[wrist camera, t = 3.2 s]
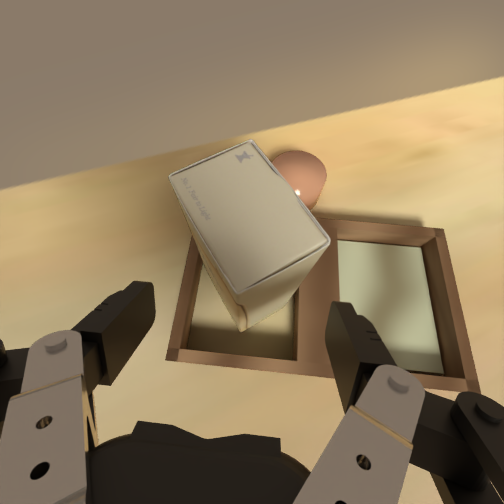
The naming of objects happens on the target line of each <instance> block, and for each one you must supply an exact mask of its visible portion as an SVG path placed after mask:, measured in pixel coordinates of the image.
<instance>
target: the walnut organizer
mask: <svg viewBox="0 0 504 504" xmlns="http://www.w3.org/2000/svg"><path fill="white" fill-rule="evenodd" d="M315 219H316V220H317V221H318V223H319V224H320V225H321V227H322V228H323V229H324V231H325V232H326V233H327V234H328V236H329V237H330V239H331V241H330V245H329V246H328V247H327V249H326V250H325V251H324V253H323V254H322V255H321V257H320V258H319V259H318V261H317V262H316V263H315V265H314V266H313V268H312V269H311V270H310V272H309V273H308V275H307V276H306V277H305V279H304V280H303V281H302V283H301V284H300V286H299V287H298V288H297V290H296V291H295V309H294V341H293V361H291V360H281V359H272V358H262V357H253V356H243V355H234V354H224V353H215V352H205V351H196V350H186V349H187V344H188V338H189V333H190V328H191V322H192V317H193V311H194V306H195V301H196V295H197V290H198V285H199V279H200V274H201V269H202V263H203V260H202V258H201V255H200V253H199V250H198V247H197V245H196V242H195V240H194V238H193V235H192V238H191V242H190V247H189V252H188V256H187V261H186V266H185V270H184V275H183V280H182V284H181V289H180V294H179V298H178V303H177V308H176V312H175V317H174V322H173V326H172V331H171V336H170V340H169V345H168V350H167V354H166V359H165V360H167V361H177V362H186V363H195V364H205V365H214V366H223V367H233V368H242V369H251V370H261V371H270V372H279V373H289V374H298V375H307V376H317V377H326V378H335V377H334V373H333V370H332V366H331V362H330V359H329V355H328V352H327V348H326V344H325V330H326V325H327V320H328V315H329V311H330V306H331V303H332V301H340V302H350V303H351V304H352V305H353V307H354V309H355V311H356V313H357V315H363V316H364V317H366V318H367V319H368V320H369V321H370V322H371V323H372V324H373V325H374V327H375V329H376V330H377V332H378V334H379V335H380V337H381V339H382V341H383V342H384V344H385V346H386V347H387V349H388V351H389V353H390V354H391V356H392V358H393V359H394V361H395V363H396V364H397V366H398V367H400V368H402V369H404V370H413V371H422V372H432V373H442V374H444V377H442V376H433V375H423V374H414V373H411V374H412V375H413V376H415V377H416V378H417V379H418V380H419V381H420V383H421V384H422V386H423V387H424V388H429V389H438V390H448V391H457V392H465V391H469V392H475V393H478V394H481V391H480V387H479V382H478V378H477V373H476V369H475V365H474V360H473V356H472V351H471V347H470V343H469V338H468V334H467V329H466V325H465V321H464V316H463V312H462V307H461V303H460V299H459V294H458V290H457V285H456V281H455V277H454V272H453V268H452V264H451V259H450V255H449V250H448V246H447V242H446V237H445V233H444V229H439V228H428V227H416V226H405V225H393V224H382V223H370V222H358V221H347V220H335V219H324V218H315ZM339 240H350V241H339ZM351 241H361V242H351ZM362 242H372V243H362ZM373 243H383V244H373ZM384 244H395V245H384ZM396 245H406V246H396ZM407 246H417V247H407ZM418 247H421V248H418Z"/></svg>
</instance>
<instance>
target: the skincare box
mask: <svg viewBox="0 0 504 504" xmlns="http://www.w3.org/2000/svg"><path fill="white" fill-rule="evenodd" d="M168 178H169V181H170V183H171V185H172V187H173V190H174V192H175V194H176V196H177V199H178V201H179V203H180V206H181V208H182V211H183V213H184V215H185V218H186V220H187V223H188V225H189V228H190V230H191V233H192V235H193V238H194V240H195V242H196V245H197V247H198V250H199V253H200V255H201V258H202V260H203V263H204V266H205V268H206V270H207V272H208V274H209V276H210V278H211V280H212V282H213V284H214V286H215V288H216V289H217V291H218V293H219V295H220V297H221V299H222V301H223V302H224V304H225V306H226V308H227V310H228V311H229V313H230V315H231V317H232V319H233V320H234V322H235V324H236V326H237V327H238V329H239V331H240V332H243V331H245V330H246V329H248V328H250V327H252V326H253V325H255V324H257V323H259V322H260V321H262V320H264V319H265V318H267V317H269V316H270V315H272V314H274V313H275V312H277V311H278V310H280V309H282V308H283V307H284V306H285V305H286V303H287V302H288V301H289V299H290V298H291V297H292V295H293V294H294V292H295V291H296V290H297V288H298V287H299V286H300V284H301V283H302V281H303V280H304V279H305V277H306V276H307V275H308V273H309V272H310V270H311V269H312V268H313V266H314V265H315V263H316V262H317V261H318V259H319V258H320V257H321V255H322V254H323V253H324V251H325V250H326V249H327V247H328V246H329V245H330V241H331V239H330V237H329V236H328V234H327V233H326V232H325V231H324V229H323V228H322V227H321V225H320V224H319V223H318V221H317V220H316V219H315V217H314V216H313V215H312V214H311V212H310V211H309V209H308V208H307V207H306V206H305V204H304V203H303V202H302V200H301V199H300V198H299V197H298V195H297V194H296V193H295V191H294V190H293V189H292V187H291V186H290V185H289V184H288V182H287V181H286V180H285V179H284V178H283V176H282V175H281V174H280V173H279V171H278V170H277V169H276V168H275V167H274V165H273V164H272V163H271V162H270V160H269V159H268V158H267V157H266V155H265V154H264V153H263V152H262V151H261V150H260V148H259V147H258V146H257V145H256V143H255V142H254V141H253V140H252V139H249V140H247V141H245V142H243V143H240V144H238V145H235V146H233V147H231V148H228V149H225V150H224V151H221V152H219V153H216V154H214V155H212V156H209V157H207V158H205V159H202V160H200V161H197V162H195V163H193V164H191V165H189V166H186V167H184V168H182V169H180V170H178V171H175V172H173V173H171V174H170V175H169V176H168Z"/></svg>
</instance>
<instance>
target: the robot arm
mask: <svg viewBox="0 0 504 504" xmlns="http://www.w3.org/2000/svg"><path fill="white" fill-rule="evenodd" d="M155 314H156V310H155V298H154V286H153V284H152V283H151V282H142V281H133V282H132V283H131V284H130V285H129V286H128V287H126V288H125V289H124V290H123V291H122V290H120V291H118V292H116V293H114V294H112V295H110V296H109V297H107V298H106V299H105V300H104V301H103V302H102V303H101V305H100V304H99V305H98V306H97V307H96V308H95V309H94V311H92V312H90V313H89V314H88V315H87V316H86V317H85V318H84V319H82V320H81V321H80V322H79V323H78V324H77V325H76V326H74V327H73V328H72V329H71V330H63V331H58V332H54V333H51V334H48V335H46V336H44V337H42V338H40V339H39V340H37V341H36V342H35V343H34V344H33V345H32V346H31V347H30V348H22V349H14V350H5V347H4V344H3V342H2V340H0V504H398V500H399V497H400V493H401V489H402V486H403V482H404V478H405V475H406V471H407V468H408V464H409V463H411V464H413V465H415V466H418V467H420V468H422V469H424V470H427V471H429V472H430V474H431V476H432V478H433V481H434V483H435V485H436V487H437V490H438V492H439V494H440V496H441V499H442V501H443V503H444V504H504V503H503V502H504V407H503V406H502V405H500V404H499V403H497V402H496V401H494V400H492V399H490V398H488V397H486V396H484V395H481V394H478V393H475V392H469V391H465V392H461V393H459V394H458V396H457V398H456V400H455V401H452V400H449V399H446V398H444V397H441V396H438V395H435V394H432V393H429V392H427V391H425V390H424V387H423V386H422V384H421V383H420V381H419V380H418V379H417V378H416V377H415V376H413V375H412V374H411V373H409V372H408V371H406V370H404V369H402V368H400V367H398V366H397V364H396V363H395V361H394V359H393V358H392V356H391V354H390V353H389V351H388V349H387V347H386V346H385V344H384V342H383V341H382V339H381V337H380V335H379V334H378V332H377V330H376V329H375V327H374V325H373V324H372V323H371V322H370V321H369V320H368V319H367V318H366V317H364V316H363V315H357V313H356V311H355V309H354V307H353V305H352V304H351V303H350V302H340V301H332V303H331V306H330V311H329V315H328V320H327V325H326V330H325V344H326V348H327V352H328V355H329V359H330V362H331V366H332V370H333V373H334V377H335V380H336V384H337V388H338V391H339V395H340V398H341V402H342V406H343V409H344V413H345V416H344V417H343V419H342V421H341V423H340V424H339V426H338V428H337V429H336V431H335V433H334V434H333V436H332V438H331V440H330V441H329V443H328V445H327V446H326V448H325V450H324V451H323V453H322V455H321V456H320V458H319V460H318V462H317V463H316V465H315V467H314V468H313V470H312V472H310V471H309V470H308V469H307V468H306V467H305V466H304V465H302V464H301V463H300V462H298V461H297V460H296V459H294V458H292V457H291V456H289V455H287V454H285V453H283V452H281V444H280V438H275V437H266V436H258V435H250V434H240V435H233V436H227V437H220V438H213V439H204V438H201V437H199V436H197V435H194V434H192V433H190V432H187V431H185V430H183V429H180V428H178V427H176V426H174V425H168V424H160V423H152V422H144V421H138V422H137V424H136V426H135V428H134V430H133V432H132V434H127V435H123V436H119V437H116V438H113V439H111V440H108V441H106V442H104V443H102V444H100V445H99V443H98V434H97V423H96V413H95V403H94V395H93V390H94V389H95V387H96V386H97V385H98V384H99V385H108V386H111V384H112V383H113V382H114V380H115V379H116V377H117V376H118V374H119V373H120V371H121V370H122V369H123V367H124V366H125V364H126V363H127V361H128V360H129V358H130V357H131V356H132V354H133V353H134V351H135V350H136V348H137V347H138V345H139V344H140V343H141V341H142V340H143V338H144V337H145V335H146V334H147V332H148V331H149V330H150V328H151V327H152V325H153V323H154V320H155ZM490 481H491V482H492V484H493V485H494V487H495V489H496V490H497V492H498V493H497V492H496V490H495V489H494V487H493V485H492V484H491V482H490ZM498 494H499V495H500V497H501V498H502V500H503V502H502V500H501V498H500V497H499V495H498Z"/></svg>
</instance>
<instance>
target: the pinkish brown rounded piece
mask: <svg viewBox="0 0 504 504" xmlns="http://www.w3.org/2000/svg"><path fill="white" fill-rule="evenodd" d="M272 164H273V165H274V167H275V168H276V169H277V170H278V171H279V173H280V174H281V175H282V176H283V178H284V179H285V180H286V181H287V182H288V184H289V185H290V186H291V187H292V189H293V190H294V191H295V193H296V194H297V195H298V197H299V198H300V199H301V200H302V202H303V203H304V204H305V206H306V207H307V208H308V209H309V210H311V209H312V208H313V207H314V206H315V205H316V203H317V201H318V198H319V196H320V193H321V191H322V189H323V186H324V184H325V181H326V177H327V173H326V169H325V166H324V165H323V163H322V162H321V161H320V160H319V159H318V158H317V157H316V156H314V155H312V154H310V153H307V152H303V151H288V152H285V153H282V154H280V155H279V156H277V157H276V158H275V159H274V160H273V162H272Z"/></svg>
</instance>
